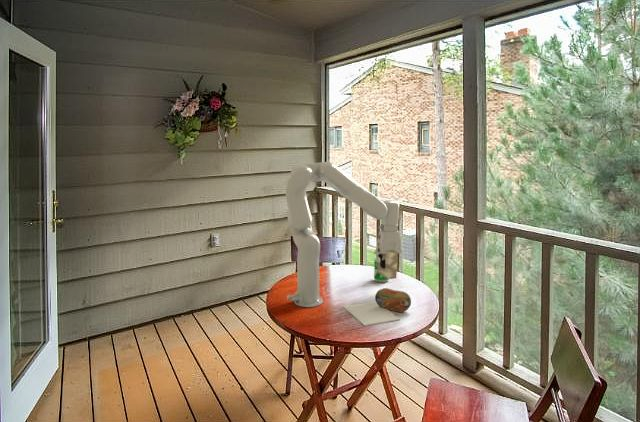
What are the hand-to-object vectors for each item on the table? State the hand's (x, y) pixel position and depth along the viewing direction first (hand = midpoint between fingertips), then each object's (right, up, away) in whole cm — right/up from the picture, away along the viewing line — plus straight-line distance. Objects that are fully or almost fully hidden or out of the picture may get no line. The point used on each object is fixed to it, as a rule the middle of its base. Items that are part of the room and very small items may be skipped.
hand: (387, 267), depth 199 cm
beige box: (0, -4, +1) cm, 4 cm away
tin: (0, -16, -15) cm, 22 cm away
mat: (-10, -17, -18) cm, 27 cm away
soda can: (+1, -10, +22) cm, 24 cm away
